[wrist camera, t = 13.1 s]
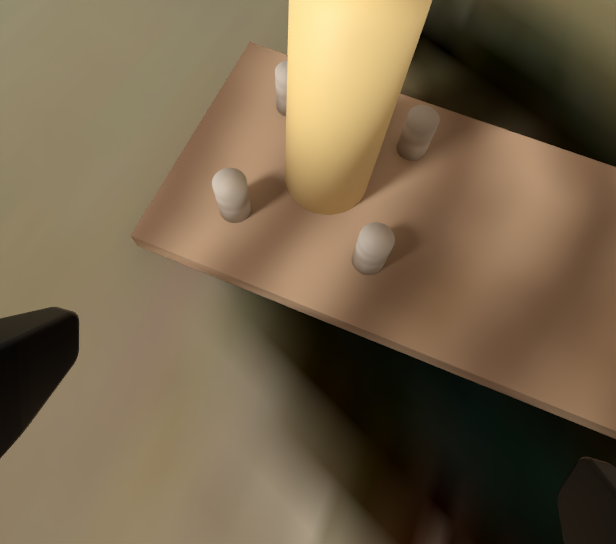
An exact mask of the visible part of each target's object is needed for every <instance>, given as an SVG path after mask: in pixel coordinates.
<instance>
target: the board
mask: <svg viewBox="0 0 616 544" xmlns="http://www.w3.org/2000/svg"><path fill="white" fill-rule="evenodd" d="M287 63H288V55H286V54H283V53H280V52H277V51H274V50H271V49H268V48H265V47H263V46H260V45H257V44H254V43H251V42H250V43H249V44H248V46H247V47H246V49H245V51H244V52H243V54H242V55H241V57H240V59H239V60H238V62H237V64H236V65H235V67H234V68H233V70H232V72H231V73H230V75H229V77H228V78H227V80H226V81H225V83H224V85H223V86H222V88H221V90H220V91H219V93H218V94H217V96H216V98H215V99H214V101H213V103H212V104H211V106H210V107H209V109H208V111H207V112H206V114H205V116H204V117H203V119H202V120H201V122H200V124H199V125H198V127H197V129H196V130H195V132H194V133H193V135H192V137H191V138H190V140H189V142H188V143H187V145H186V146H185V148H184V150H183V151H182V153H181V154H180V156H179V158H178V159H177V161H176V163H175V164H174V166H173V167H172V169H171V171H170V172H169V174H168V176H167V177H166V179H165V180H164V182H163V184H162V185H161V187H160V189H159V190H158V192H157V193H156V195H155V197H154V198H153V200H152V202H151V203H150V205H149V206H148V208H147V210H146V211H145V213H144V215H143V216H142V218H141V219H140V221H139V223H138V224H137V226H136V228H135V229H134V231H133V232H132V234H131V237H132V239H133V240H134V241H135V243H136V244H137V245H138V246H140V247H142V248H144V249H147V250H149V251H152V252H154V253H157V254H159V255H162V256H164V257H167V258H169V259H172V260H174V261H177V262H179V263H182V264H184V265H187V266H189V267H191V268H194V269H196V270H199V271H201V272H204V273H206V274H209V275H211V276H214V277H216V278H219V279H221V280H224V281H226V282H229V283H231V284H234V285H236V286H238V287H241V288H243V289H246V290H248V291H251V292H253V293H256V294H258V295H261V296H263V297H266V298H268V299H271V300H273V301H276V302H278V303H281V304H283V305H285V306H288V307H290V308H293V309H295V310H298V311H300V312H303V313H305V314H308V315H310V316H313V317H315V318H318V319H320V320H323V321H325V322H328V323H330V324H332V325H335V326H337V327H340V328H342V329H345V330H347V331H350V332H352V333H355V334H357V335H360V336H362V337H365V338H367V339H370V340H372V341H375V342H377V343H379V344H382V345H384V346H387V347H389V348H392V349H394V350H397V351H399V352H402V353H404V354H407V355H409V356H412V357H414V358H417V359H419V360H422V361H424V362H426V363H429V364H431V365H434V366H436V367H439V368H441V369H444V370H446V371H449V372H451V373H454V374H456V375H459V376H461V377H464V378H466V379H469V380H471V381H473V382H476V383H478V384H481V385H483V386H486V387H488V388H491V389H493V390H496V391H498V392H501V393H503V394H506V395H508V396H511V397H513V398H516V399H518V400H520V401H523V402H525V403H528V404H530V405H533V406H535V407H538V408H540V409H543V410H545V411H548V412H550V413H553V414H555V415H558V416H560V417H563V418H565V419H567V420H570V421H572V422H575V423H577V424H580V425H582V426H585V427H587V428H590V429H592V430H595V431H597V432H600V433H602V434H605V435H607V436H610V437H612V438H614V439H616V167H613V166H611V165H608V164H605V163H602V162H599V161H596V160H593V159H590V158H587V157H584V156H581V155H578V154H575V153H573V152H570V151H567V150H564V149H561V148H558V147H555V146H552V145H549V144H546V143H543V142H540V141H537V140H535V139H532V138H529V137H526V136H523V135H520V134H517V133H514V132H511V131H508V130H505V129H502V128H499V127H497V126H494V125H491V124H488V123H485V122H482V121H479V120H476V119H473V118H470V117H467V116H464V115H461V114H458V113H456V112H453V111H450V110H447V109H444V108H441V107H438V106H435V105H432V104H429V103H426V102H423V101H420V100H418V99H415V98H412V97H409V96H406V95H403V94H399V97H398V100H397V103H396V106H395V109H394V111H393V114H392V117H391V120H390V123H389V126H388V129H387V131H386V134H385V137H384V140H383V143H382V146H381V149H380V152H379V154H378V157H377V160H376V163H375V166H374V169H373V172H372V175H371V177H370V180H369V183H368V186H367V189H366V192H365V194H364V196H363V198H362V199H361V200H360V202H359V203H358V204H357V205H355V206H354V207H353V208H351V209H349V210H348V211H345V212H343V213H339V214H333V215H324V214H318V213H314V212H311V211H309V210H307V209H305V208H303V207H301V206H300V205H299V204H298V203H296V202H295V200H294V199H293V198H292V197H291V195H290V194H289V192H288V190H287V187H286V184H285V143H286V103H287Z"/></svg>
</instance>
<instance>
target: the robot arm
mask: <svg viewBox="0 0 616 544" xmlns="http://www.w3.org/2000/svg"><path fill="white" fill-rule="evenodd" d="M78 352H79V318H78V315H77V314H76V313H75V312H73V311H69V310H66V309H62V308H59V307H50V308H45V309H41V310H36V311H32V312H27V313H23V314H18V315H14V316H10V317H5V318H1V319H0V458H1V457H2V456H3V455H4V454H5V453H6V451H7V450H8V449H9V448H10V447H11V446H12V445H13V444H14V442H15V441H16V440H17V439H18V438H19V437H20V435H21V434H22V433H23V432H24V431H25V429H26V428H27V427H28V425H29V424H30V423H31V422H32V420H33V419H34V418H35V416H36V415H37V413H38V412H39V411H40V409H41V408H42V407H43V405H44V404H45V403H46V401H47V400H48V398H49V397H50V396H51V394H52V393H53V392H54V390H55V389H56V388H57V386H58V385H59V384H60V382H61V381H62V379H63V378H64V377H65V375H66V374H67V373H68V371H69V370H70V369H71V367H72V366H73V364H74V363H75V361H76V359H77V356H78ZM558 510H559V516H560V522H561V528H562V534H563V540H564V544H616V468H615V467H614V466H613V465H611V464H609V463H607V462H604V461H601V460H597V459H593V458H590V457H582V458H581V459H579V460H578V461H577V462H576V464H575V466H574V467H573V469H572V470H571V472H570V474H569V475H568V477H567V478H566V480H565V481H564V483H563V485H562V486H561V488H560V490H559V493H558Z"/></svg>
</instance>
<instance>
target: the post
mask: <svg viewBox="0 0 616 544" xmlns="http://www.w3.org/2000/svg"><path fill="white" fill-rule="evenodd" d="M431 2H432V0H289V24H288V63H287V103H286V143H285V184H286V187H287V190H288V192H289V194H290V195H291V197H292V198H293V199H294V200H295V202H296V203H298V204H299V205H300V206H301V207H303V208H305V209H307V210H309V211H311V212H314V213H318V214H324V215H333V214H339V213H343V212H345V211H348V210H349V209H351V208H353V207H354V206H355V205H357V204H358V203H359V202H360V200H361V199H362V198H363V196H364V194H365V192H366V189H367V186H368V183H369V180H370V177H371V175H372V172H373V169H374V166H375V163H376V160H377V157H378V154H379V152H380V149H381V146H382V143H383V140H384V137H385V134H386V131H387V129H388V126H389V123H390V120H391V117H392V114H393V111H394V109H395V106H396V103H397V100H398V97H399V94H400V91H401V88H402V86H403V83H404V80H405V77H406V74H407V71H408V68H409V65H410V63H411V60H412V57H413V54H414V51H415V48H416V45H417V43H418V40H419V37H420V34H421V31H422V28H423V25H424V22H425V20H426V17H427V14H428V11H429V8H430V5H431Z"/></svg>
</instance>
